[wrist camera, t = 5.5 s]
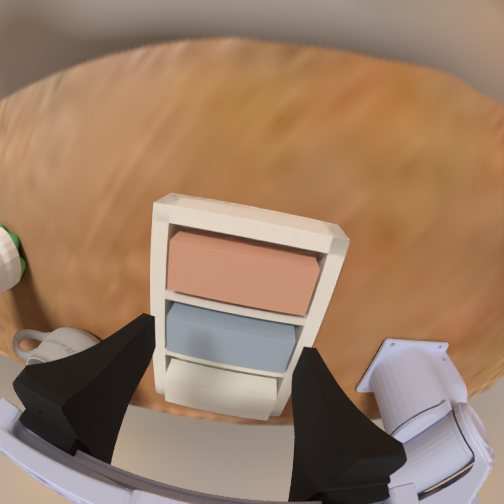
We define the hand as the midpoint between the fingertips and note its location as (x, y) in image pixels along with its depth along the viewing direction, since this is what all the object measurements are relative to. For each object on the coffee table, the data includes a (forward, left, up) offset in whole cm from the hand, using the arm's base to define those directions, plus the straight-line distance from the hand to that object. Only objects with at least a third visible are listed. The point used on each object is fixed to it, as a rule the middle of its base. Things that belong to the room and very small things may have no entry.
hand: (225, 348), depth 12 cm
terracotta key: (0, -1, -8) cm, 8 cm away
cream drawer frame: (0, +5, -10) cm, 12 cm away
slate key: (0, +5, -8) cm, 10 cm away
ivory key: (0, +11, -7) cm, 14 cm away
